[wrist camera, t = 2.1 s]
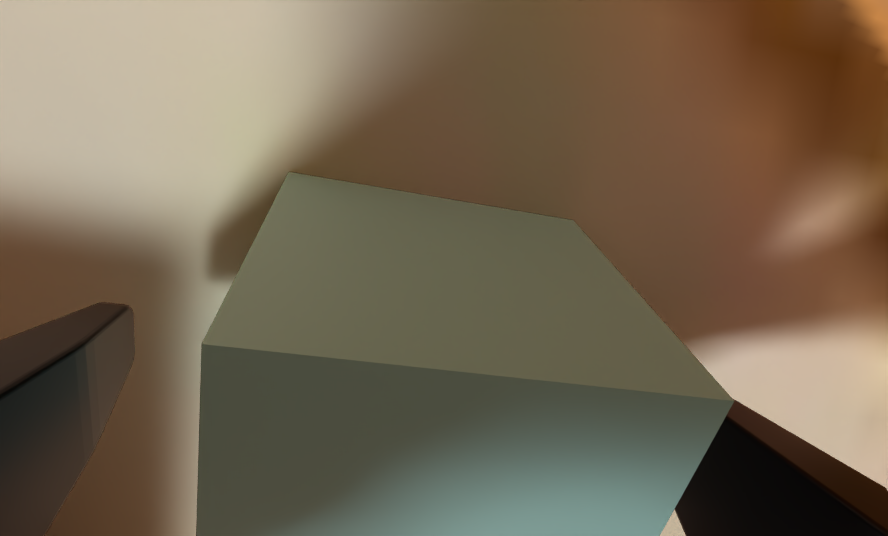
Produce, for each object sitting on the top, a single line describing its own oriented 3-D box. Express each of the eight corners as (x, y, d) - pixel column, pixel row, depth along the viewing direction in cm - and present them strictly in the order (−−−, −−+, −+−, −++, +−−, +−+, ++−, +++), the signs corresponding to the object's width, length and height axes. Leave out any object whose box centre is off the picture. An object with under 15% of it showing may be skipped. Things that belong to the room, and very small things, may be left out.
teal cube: (572, 218, 10) (734, 401, 5) (501, 427, 12) (576, 684, 7) (289, 170, 9) (201, 344, 4) (267, 407, 11) (191, 689, 6)
